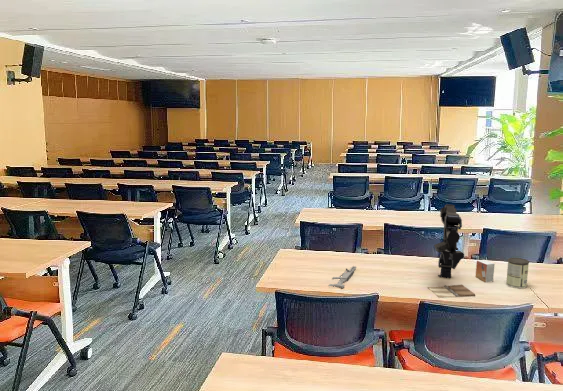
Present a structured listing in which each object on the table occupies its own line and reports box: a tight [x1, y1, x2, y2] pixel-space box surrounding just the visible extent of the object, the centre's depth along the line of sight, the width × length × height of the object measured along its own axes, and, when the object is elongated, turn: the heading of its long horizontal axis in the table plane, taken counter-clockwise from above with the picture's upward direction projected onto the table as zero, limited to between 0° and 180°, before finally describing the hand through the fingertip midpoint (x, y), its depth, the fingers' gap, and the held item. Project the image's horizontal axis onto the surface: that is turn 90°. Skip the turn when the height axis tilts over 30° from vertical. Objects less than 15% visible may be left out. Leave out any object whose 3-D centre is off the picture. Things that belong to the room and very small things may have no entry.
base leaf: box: [427, 285, 460, 299], centre depth 253 cm, size 14×11×2 cm
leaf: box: [447, 284, 476, 298], centre depth 254 cm, size 14×10×2 cm
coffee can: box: [506, 257, 530, 289], centre depth 265 cm, size 10×10×14 cm
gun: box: [328, 265, 357, 289], centre depth 278 cm, size 36×4×10 cm
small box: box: [474, 259, 496, 283], centre depth 274 cm, size 8×6×10 cm
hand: (449, 266), depth 260 cm, fingers open, 9 cm apart
